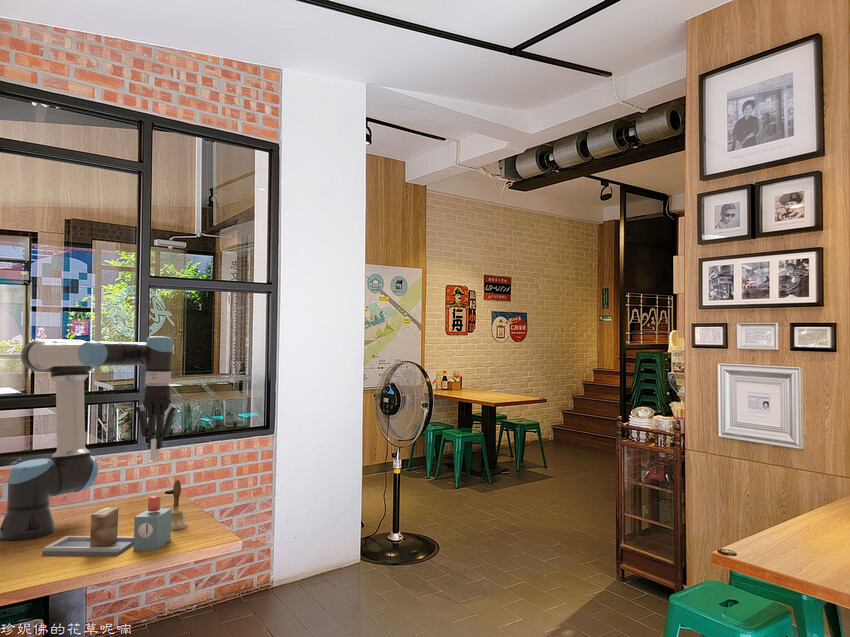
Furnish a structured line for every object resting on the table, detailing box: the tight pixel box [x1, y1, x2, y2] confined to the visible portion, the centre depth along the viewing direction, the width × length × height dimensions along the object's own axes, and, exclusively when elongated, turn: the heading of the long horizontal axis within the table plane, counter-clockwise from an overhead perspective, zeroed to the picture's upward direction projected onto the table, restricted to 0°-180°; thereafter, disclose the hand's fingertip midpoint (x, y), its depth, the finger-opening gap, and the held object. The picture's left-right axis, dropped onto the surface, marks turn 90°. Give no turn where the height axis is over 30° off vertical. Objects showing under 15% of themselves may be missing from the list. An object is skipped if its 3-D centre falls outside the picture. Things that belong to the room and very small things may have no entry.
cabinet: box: [133, 507, 173, 551], centre depth 181 cm, size 7×11×10 cm, turn 0°
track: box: [41, 535, 134, 557], centre depth 177 cm, size 22×12×2 cm, turn 90°
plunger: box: [147, 495, 162, 511], centre depth 182 cm, size 4×4×4 cm
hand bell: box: [171, 479, 189, 531], centre depth 201 cm, size 8×8×16 cm
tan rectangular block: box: [89, 506, 120, 547], centre depth 178 cm, size 4×8×10 cm, turn 0°
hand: (154, 459), depth 184 cm, fingers closed
